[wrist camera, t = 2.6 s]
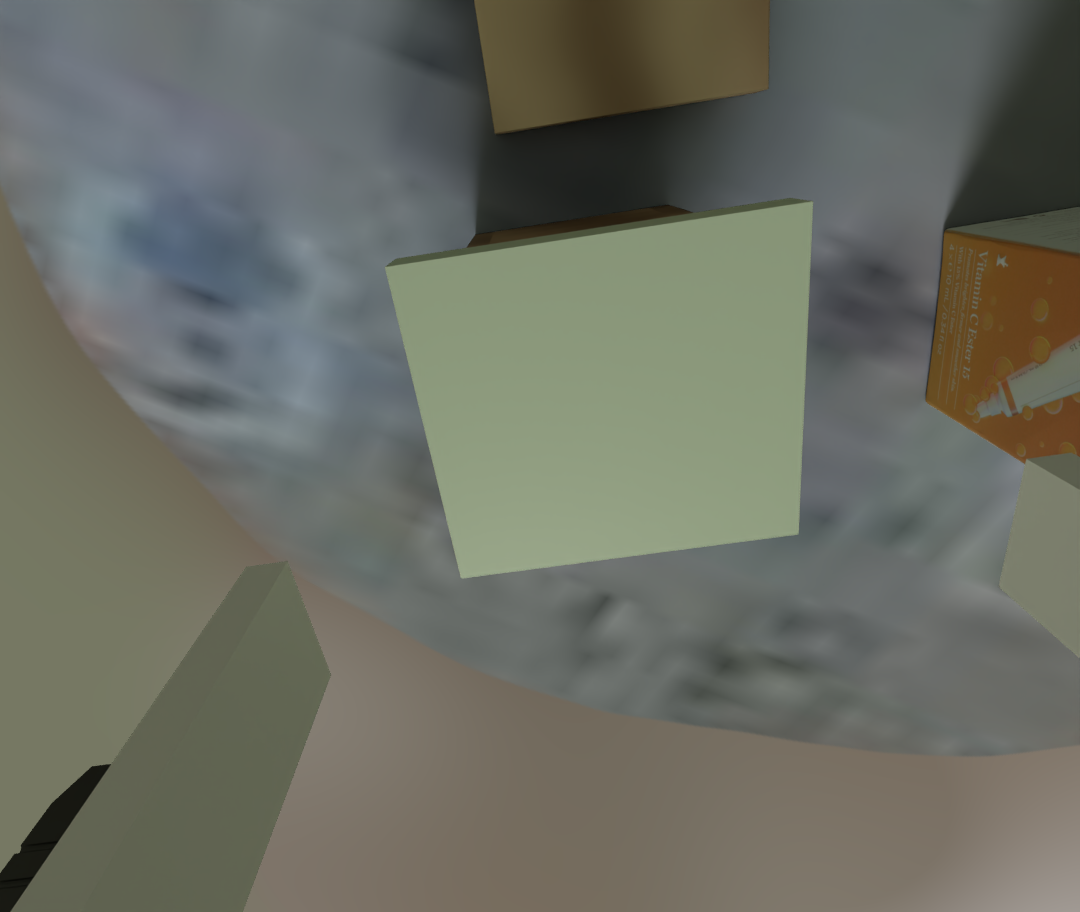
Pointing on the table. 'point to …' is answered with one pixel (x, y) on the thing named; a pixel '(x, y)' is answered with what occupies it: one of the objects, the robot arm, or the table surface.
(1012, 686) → the table surface
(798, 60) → the table surface
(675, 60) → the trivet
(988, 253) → the small box
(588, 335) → the lid
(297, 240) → the table surface
